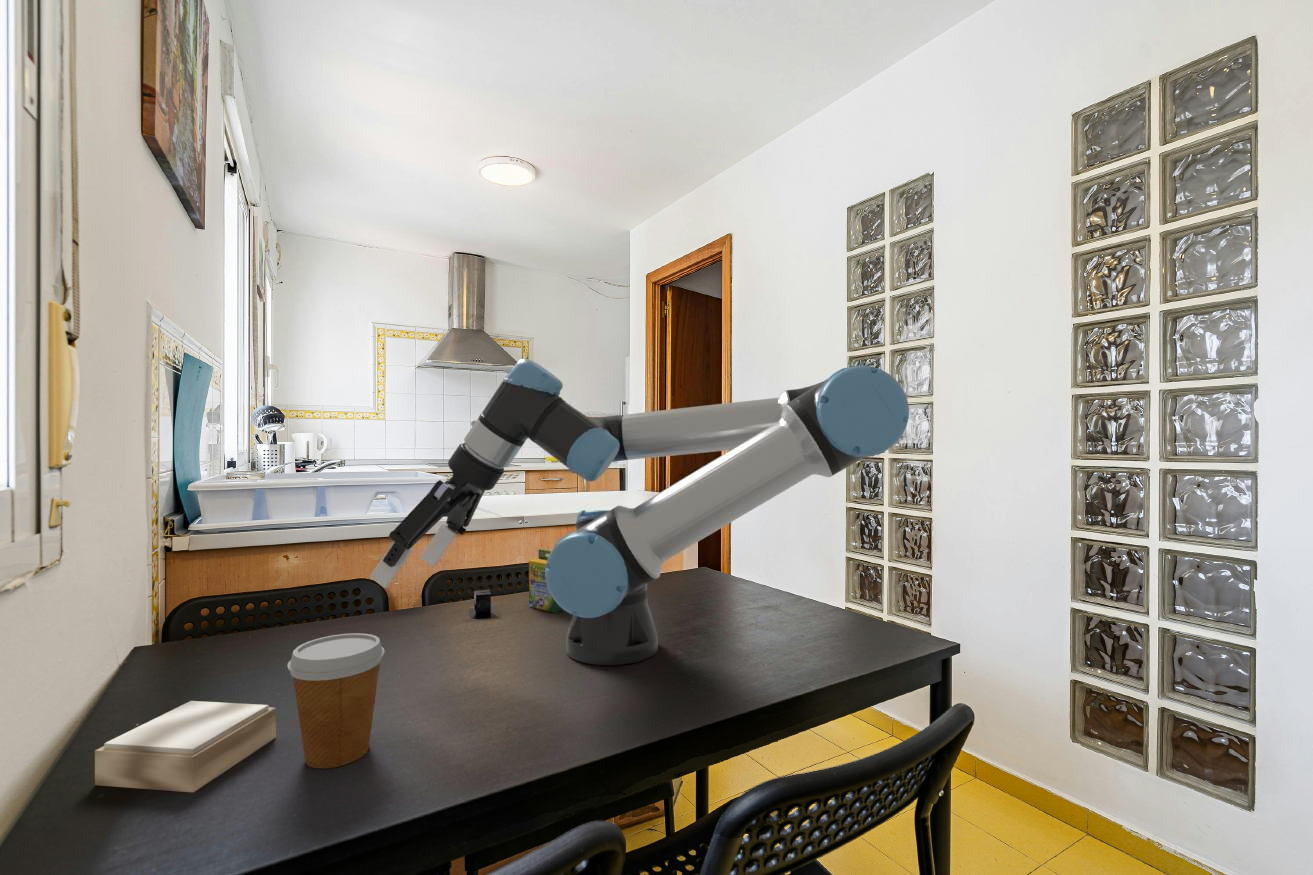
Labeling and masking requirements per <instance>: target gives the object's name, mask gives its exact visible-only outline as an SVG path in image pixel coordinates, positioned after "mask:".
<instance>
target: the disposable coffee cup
mask: <svg viewBox="0 0 1313 875" xmlns="http://www.w3.org/2000/svg"><path fill="white" fill-rule="evenodd" d="M384 654H385V648H384V647H383V646H382V643H381V640H380V637H378V636H377V635H374V634H369V633H358V632H357V633H356V632H355V633H351V632H350V633H340V634H333V635H328V636H324V637H319V638H315V639H312V640H309V641H306V642H304V643H302V644H299V645H298V646H297V647H296V648H295V649H294V650H292V654H291V658H290V660H289V661H288V663H287V670H288V671H289V672H290V675H291V677H292V679H293V686H294V693H295V699H296V700H295V702H296V706H297V714H298V721H299V728H300V733H301V740H302V747H303V755H304V761H305V762H304V763H305V764H306V765H307V766H308V767H310V768H312V769H313V768H314V769H332V768H333V769H334V768H338V767H341V766H345V765H348V764H351V763H353V762H355V761H357V760H359V759H360V758H362V757H363V756H364V755H365V754H367V753H368V750H369V749H370V742H371V735H372V726H373V718H374V710H375V704H376V703H375V702H376V694H377V687H378V681H379V680H378V679H379V672H380V665H381V662H382V659H383V656H384Z"/></svg>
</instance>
